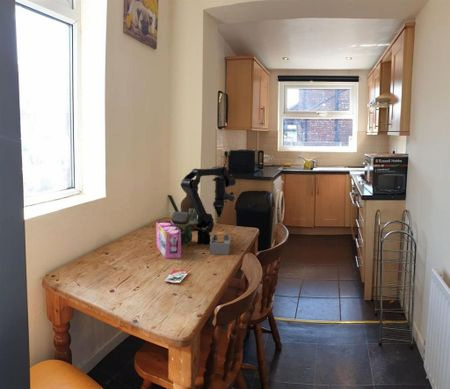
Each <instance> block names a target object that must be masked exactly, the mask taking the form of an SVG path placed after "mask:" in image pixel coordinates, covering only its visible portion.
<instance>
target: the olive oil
mask: <svg viewBox="0 0 450 389" xmlns="http://www.w3.org/2000/svg"><path fill="white" fill-rule="evenodd" d="M185 194H186V195H185V197H184V198H183V199H182V200H181V201H180V212H187V213H189V216H190V223H189V224H190V228H191V232H196V231H195V226H196V224H197V223H198V221H197V219H198V215H197V213H196V210H195V208H194V206H193V204H192V201H191V199H190V197H189V195H188V194H187V193H185Z"/></svg>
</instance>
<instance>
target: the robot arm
mask: <svg viewBox="0 0 450 389" xmlns="http://www.w3.org/2000/svg"><path fill="white" fill-rule="evenodd" d="M205 176H206V177H207V176H208V177H209V176H213V177H214V178H213V179H212V182H215V183H214V185H215V190H214V194H215V196H214V200H213V201H212V206H213V209H214V210H215V212H216V214H217V216H218V218H221V216H222V214H223V211H224V207H225V206H226V203H227V202H228V201H230V202H234V201H235V199H236V194H235V192H233V191H231V192H227V189H226V188H231V187H235V185H236V182H237V181H236V179H235V177H234V175H233V174H230V172H229V171H228V168H227V167H226V166H221V165H220V166H219V165H215V166H213V167H211V168H193V169H192V170H191V171H190V172H189V173H188V174H187V175H185V176H184V178H183V179H182V180H181V183H180V187H181V189H182V190H183V192H184V193H185V194H186V193H187V194H188V195H189V197H190V199H191V201H192V204H193V206H194V208H195V210H196V213H197V221H198V222H197V224H196V226H195V231H194V232H197V242H196V243H197V244H205V245H208V244H209V245H210V241H211V233H212V232H213V229H214V225H215V224H214V223H215V222H214V218H213V215H212V213H207V211H206V209H205V206H204V204H203V202H202V199H201V198H200V194H199V192H198V191H199V184H200V183H201V177H205ZM194 178H195V179H194Z"/></svg>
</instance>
